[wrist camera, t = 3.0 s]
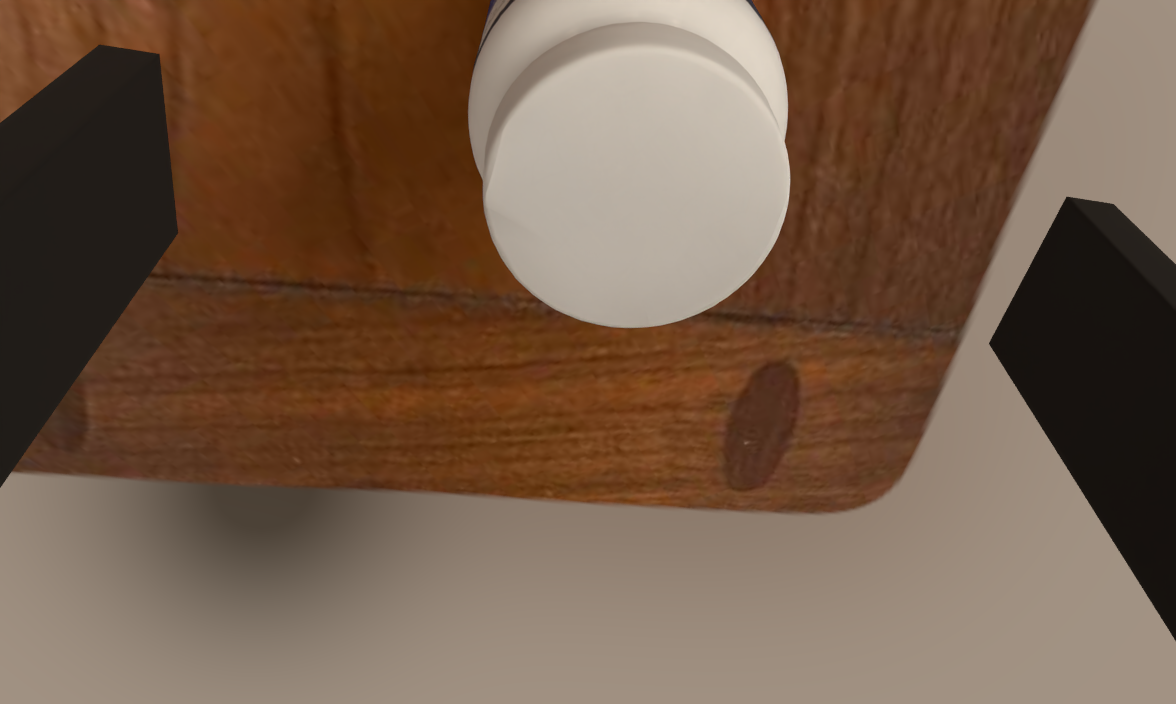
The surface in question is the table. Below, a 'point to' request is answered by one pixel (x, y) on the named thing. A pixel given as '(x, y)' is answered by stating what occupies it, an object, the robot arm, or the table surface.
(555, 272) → the pill bottle
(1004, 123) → the table surface
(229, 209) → the table surface
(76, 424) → the table surface
